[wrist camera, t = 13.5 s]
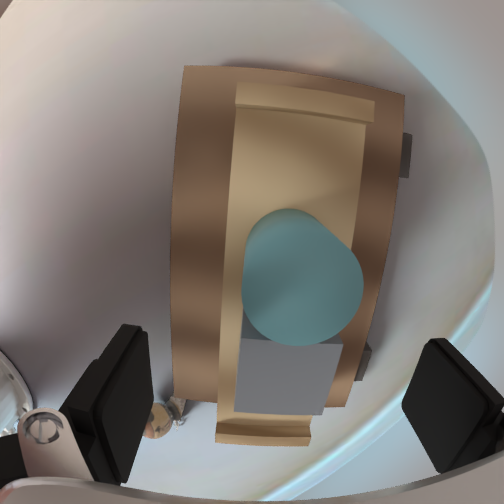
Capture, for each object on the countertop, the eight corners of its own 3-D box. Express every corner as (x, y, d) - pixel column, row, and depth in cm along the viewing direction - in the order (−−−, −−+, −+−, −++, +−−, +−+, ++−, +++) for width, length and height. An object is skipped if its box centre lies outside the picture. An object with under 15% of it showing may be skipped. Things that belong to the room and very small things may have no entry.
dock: (347, 385, 26) (355, 406, 23) (181, 375, 26) (174, 397, 23) (398, 105, 19) (417, 99, 16) (193, 78, 19) (184, 65, 16)
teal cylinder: (322, 293, 15) (349, 348, 10) (241, 286, 15) (236, 341, 10) (335, 214, 14) (374, 238, 9) (249, 204, 14) (247, 224, 9)
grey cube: (309, 366, 16) (321, 415, 13) (237, 361, 16) (233, 411, 12) (323, 302, 15) (343, 344, 12) (244, 295, 15) (241, 338, 11)
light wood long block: (299, 394, 22) (308, 446, 17) (222, 390, 22) (215, 442, 17) (341, 117, 17) (374, 101, 12) (241, 105, 17) (237, 81, 12)
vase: (128, 410, 27) (109, 448, 21) (134, 372, 26) (112, 410, 20) (177, 427, 28) (166, 469, 22) (188, 391, 27) (176, 433, 21)
